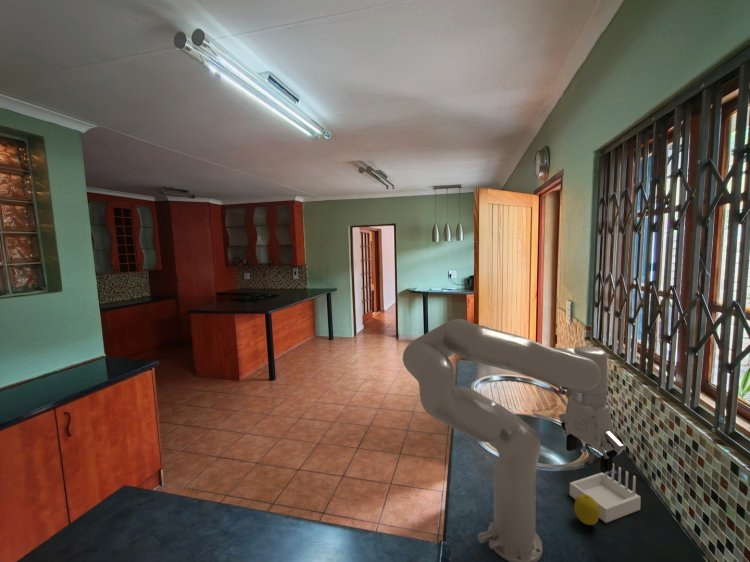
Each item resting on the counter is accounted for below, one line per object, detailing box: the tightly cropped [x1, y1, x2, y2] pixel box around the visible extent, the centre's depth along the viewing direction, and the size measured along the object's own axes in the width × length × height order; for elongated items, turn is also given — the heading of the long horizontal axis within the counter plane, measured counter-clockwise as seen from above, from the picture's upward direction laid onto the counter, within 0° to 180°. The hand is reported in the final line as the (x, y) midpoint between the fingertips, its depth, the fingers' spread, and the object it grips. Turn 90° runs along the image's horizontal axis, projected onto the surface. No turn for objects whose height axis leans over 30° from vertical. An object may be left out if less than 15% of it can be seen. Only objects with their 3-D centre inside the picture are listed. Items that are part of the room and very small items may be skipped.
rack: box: [569, 462, 642, 524], centre depth 95 cm, size 13×11×9 cm
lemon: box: [573, 494, 600, 526], centre depth 88 cm, size 6×6×8 cm
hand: (588, 459), depth 87 cm, fingers open, 9 cm apart
